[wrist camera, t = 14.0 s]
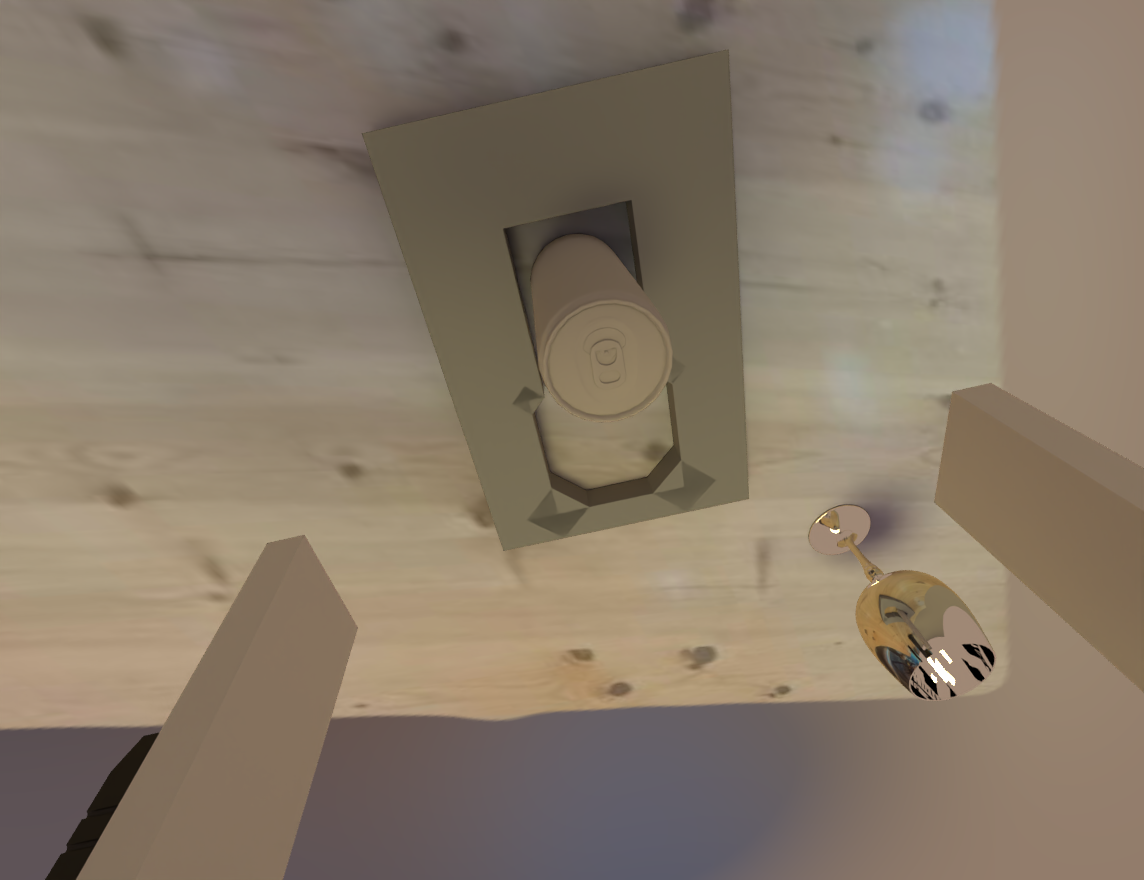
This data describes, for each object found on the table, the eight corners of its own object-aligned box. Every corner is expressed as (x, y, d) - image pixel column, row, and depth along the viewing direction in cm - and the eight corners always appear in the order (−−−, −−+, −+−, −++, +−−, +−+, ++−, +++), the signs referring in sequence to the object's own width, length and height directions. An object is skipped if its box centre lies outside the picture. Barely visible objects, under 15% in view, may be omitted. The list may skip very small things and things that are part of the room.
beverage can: (614, 222, 29) (670, 281, 18) (626, 314, 31) (682, 411, 21) (521, 241, 29) (524, 311, 18) (540, 331, 31) (552, 437, 21)
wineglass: (810, 571, 42) (907, 720, 32) (790, 518, 39) (889, 661, 29) (885, 541, 41) (1011, 683, 31) (870, 484, 38) (1002, 619, 28)
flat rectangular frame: (371, 132, 26) (361, 133, 24) (715, 53, 25) (728, 49, 24) (504, 533, 38) (503, 550, 36) (739, 483, 37) (749, 498, 36)
